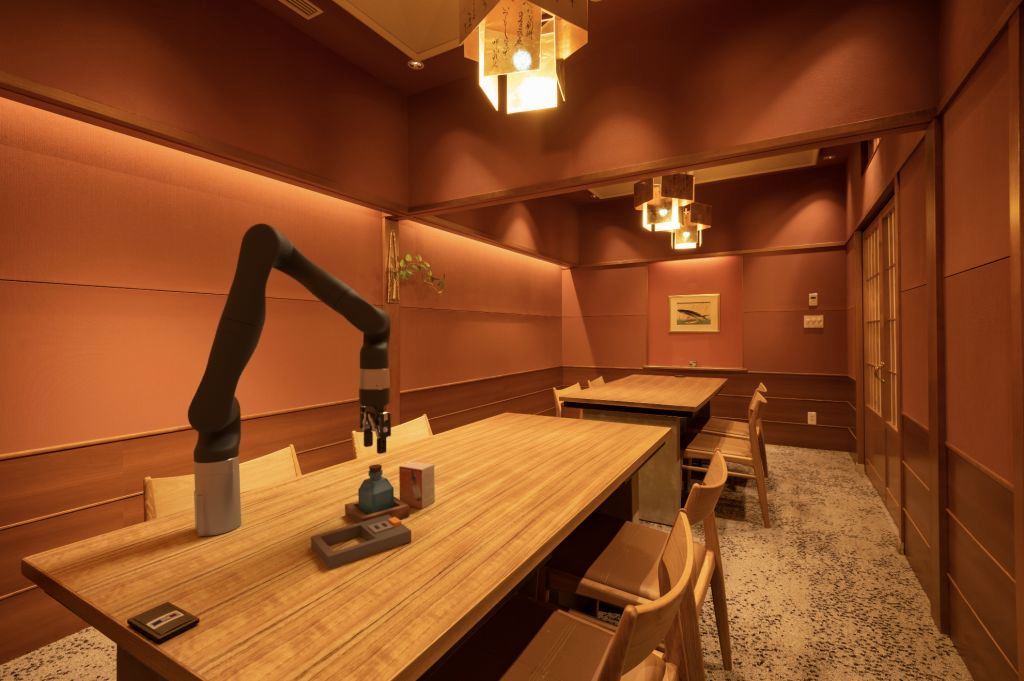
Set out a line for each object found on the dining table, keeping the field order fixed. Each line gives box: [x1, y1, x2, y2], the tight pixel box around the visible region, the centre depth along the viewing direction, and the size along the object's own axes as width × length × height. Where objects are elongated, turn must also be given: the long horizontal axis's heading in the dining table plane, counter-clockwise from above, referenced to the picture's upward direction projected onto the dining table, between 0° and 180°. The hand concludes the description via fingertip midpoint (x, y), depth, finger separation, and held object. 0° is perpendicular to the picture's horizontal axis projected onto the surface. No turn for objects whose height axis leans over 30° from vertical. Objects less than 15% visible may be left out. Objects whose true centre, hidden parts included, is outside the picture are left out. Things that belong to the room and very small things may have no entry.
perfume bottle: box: [357, 464, 395, 515], centre depth 117 cm, size 6×6×12 cm
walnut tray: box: [344, 496, 410, 524], centre depth 117 cm, size 12×12×3 cm
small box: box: [398, 460, 436, 510], centre depth 126 cm, size 8×6×10 cm
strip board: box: [310, 515, 412, 570], centre depth 102 cm, size 18×12×3 cm, turn 129°
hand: (374, 449), depth 117 cm, fingers open, 8 cm apart
